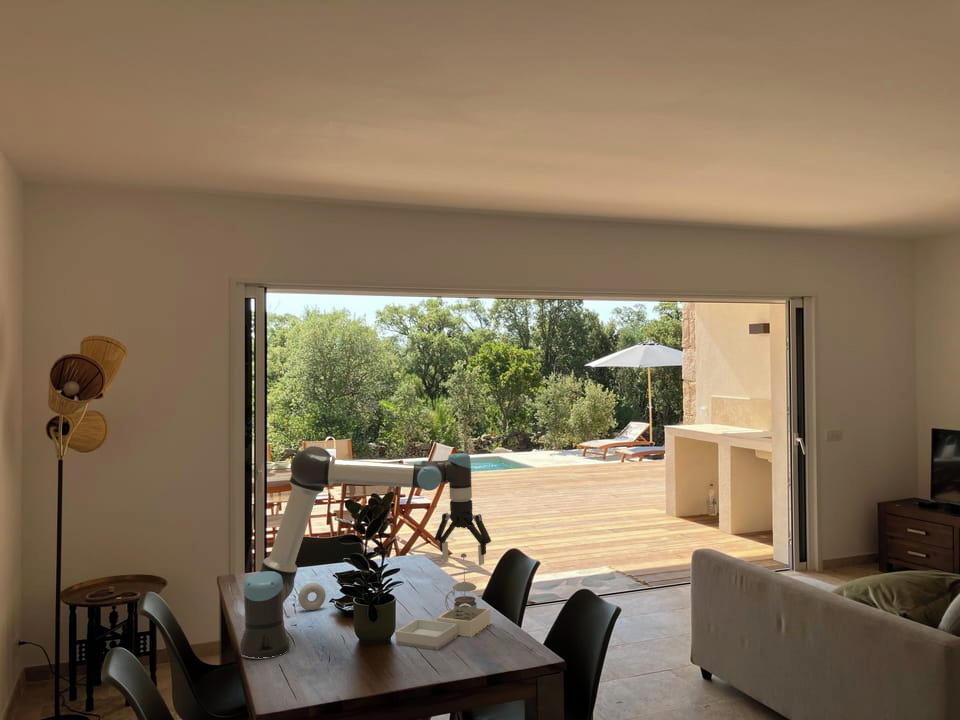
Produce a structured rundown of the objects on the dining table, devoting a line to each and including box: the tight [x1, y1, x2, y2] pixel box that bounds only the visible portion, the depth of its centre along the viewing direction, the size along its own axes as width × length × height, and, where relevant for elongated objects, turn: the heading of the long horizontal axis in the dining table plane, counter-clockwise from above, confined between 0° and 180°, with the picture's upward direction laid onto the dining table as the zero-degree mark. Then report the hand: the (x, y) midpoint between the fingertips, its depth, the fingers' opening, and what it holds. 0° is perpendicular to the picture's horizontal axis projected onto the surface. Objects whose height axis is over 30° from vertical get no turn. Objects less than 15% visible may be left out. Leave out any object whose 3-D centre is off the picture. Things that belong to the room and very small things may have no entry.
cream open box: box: [436, 605, 491, 638], centre depth 255 cm, size 15×13×5 cm
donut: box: [297, 582, 326, 611], centre depth 281 cm, size 10×4×10 cm, turn 114°
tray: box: [394, 618, 458, 651], centre depth 245 cm, size 14×15×4 cm
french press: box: [444, 553, 478, 621], centre depth 256 cm, size 10×12×25 cm
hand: (463, 563), depth 256 cm, fingers open, 13 cm apart
